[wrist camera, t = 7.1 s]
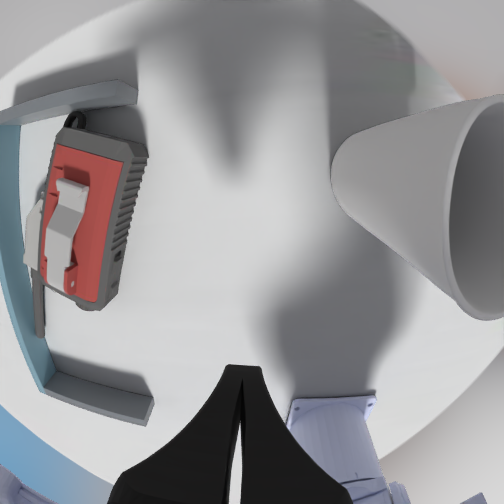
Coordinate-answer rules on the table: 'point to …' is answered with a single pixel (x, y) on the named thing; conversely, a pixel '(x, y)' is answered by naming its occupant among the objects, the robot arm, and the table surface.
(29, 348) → the tray
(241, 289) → the table surface
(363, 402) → the robot arm
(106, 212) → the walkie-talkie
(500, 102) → the mug
